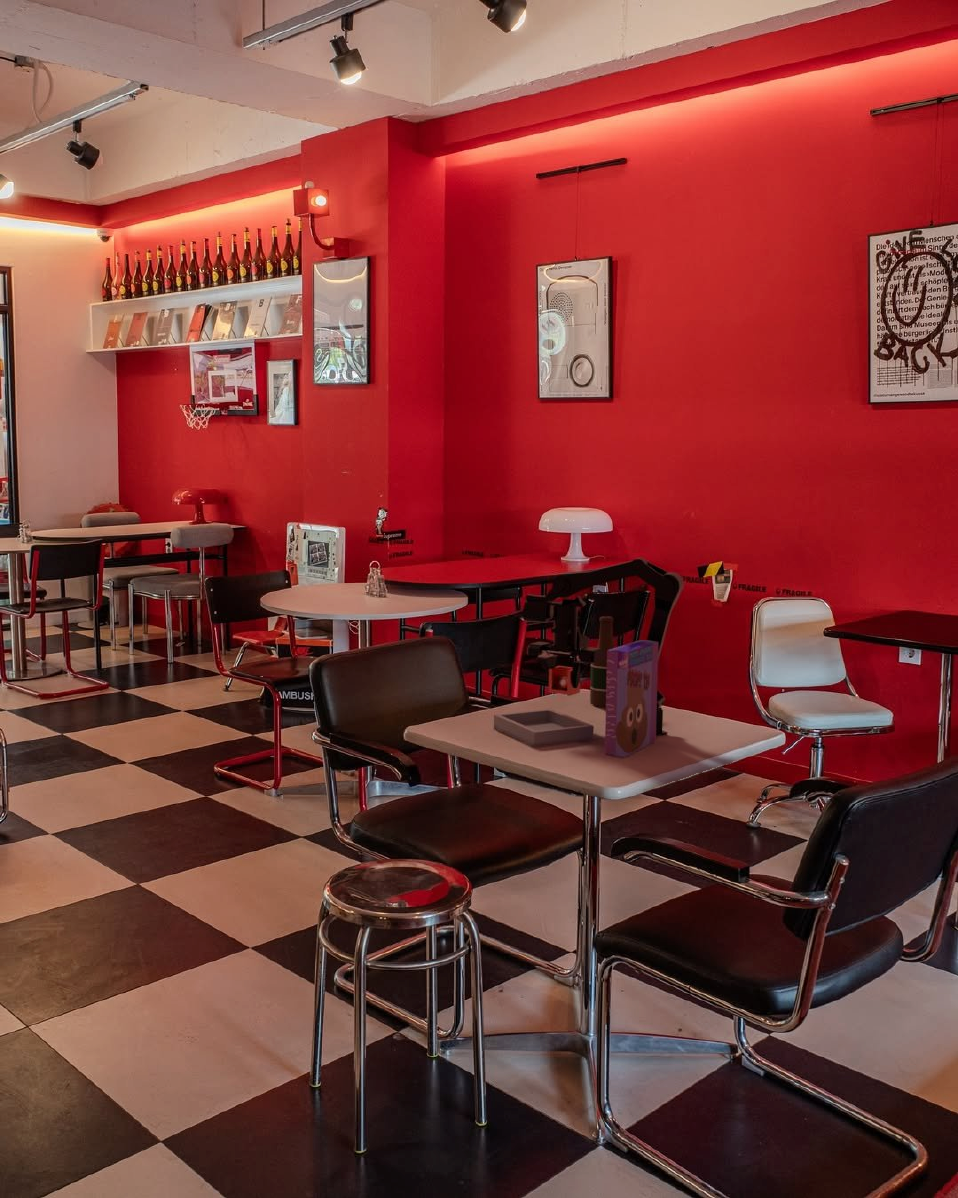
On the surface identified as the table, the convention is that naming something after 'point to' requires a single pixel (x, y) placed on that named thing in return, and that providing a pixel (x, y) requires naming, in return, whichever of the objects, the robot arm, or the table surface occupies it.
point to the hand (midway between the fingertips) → (564, 686)
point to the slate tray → (543, 727)
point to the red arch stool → (557, 674)
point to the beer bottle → (601, 663)
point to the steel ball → (563, 682)
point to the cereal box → (631, 698)
